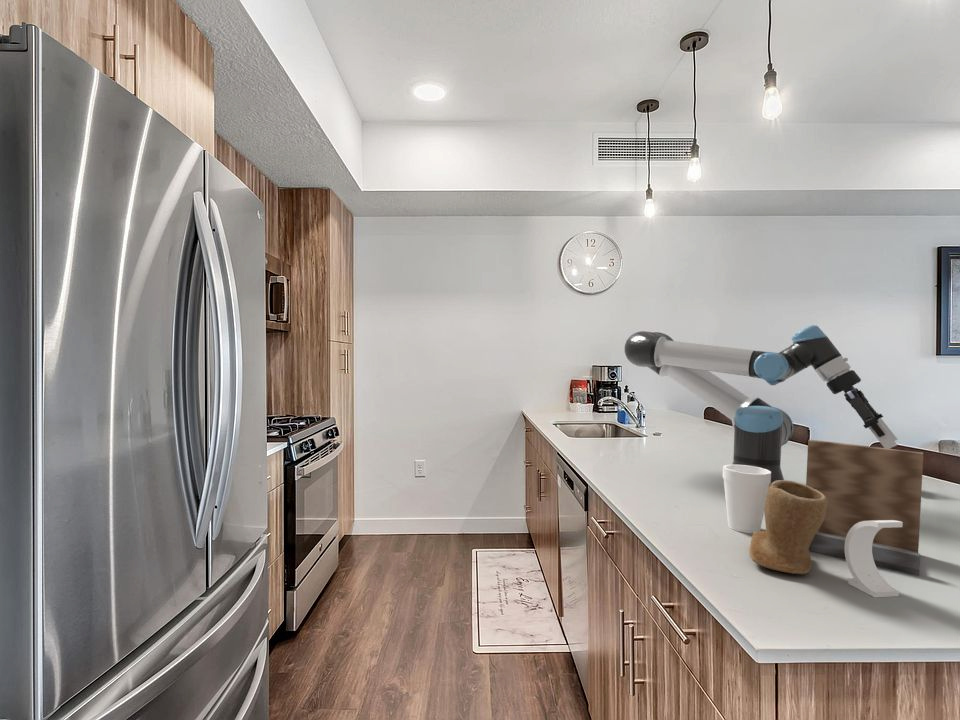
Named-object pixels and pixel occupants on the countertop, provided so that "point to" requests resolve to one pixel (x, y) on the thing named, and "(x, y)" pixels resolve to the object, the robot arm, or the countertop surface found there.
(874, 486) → the board
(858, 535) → the white curved saddle bracket
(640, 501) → the countertop surface
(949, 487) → the countertop surface
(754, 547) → the tan suede boot
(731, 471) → the foam cup
